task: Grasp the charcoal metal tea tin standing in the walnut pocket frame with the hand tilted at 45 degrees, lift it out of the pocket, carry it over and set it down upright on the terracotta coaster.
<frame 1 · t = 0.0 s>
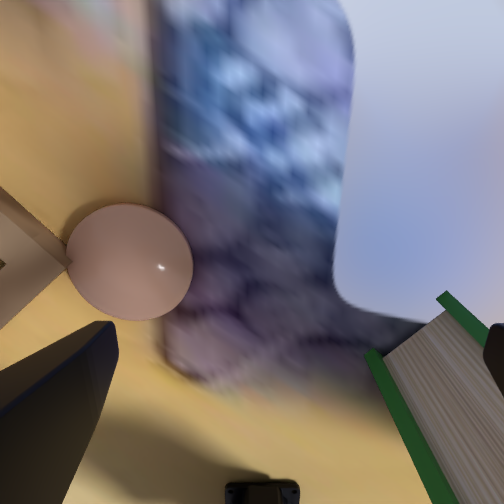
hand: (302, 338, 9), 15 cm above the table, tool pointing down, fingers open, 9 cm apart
hardback book: (472, 388, 28), on the table
coaster: (133, 262, 24), on the table
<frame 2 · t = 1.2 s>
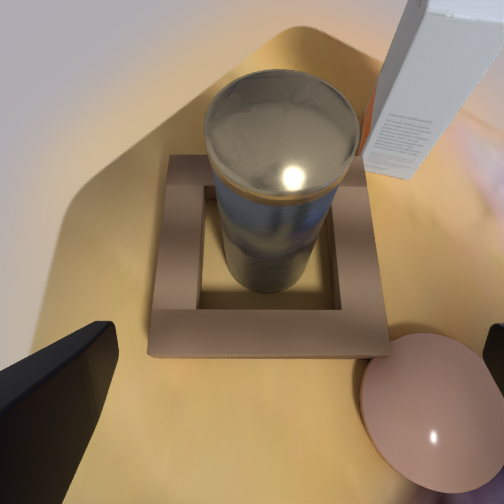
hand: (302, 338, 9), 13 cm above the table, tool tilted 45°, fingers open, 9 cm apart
pocket frame: (266, 254, 24), on the table
tea tin: (271, 209, 18), in the pocket frame
coaster: (430, 406, 20), on the table
skincare box: (384, 147, 28), on the table
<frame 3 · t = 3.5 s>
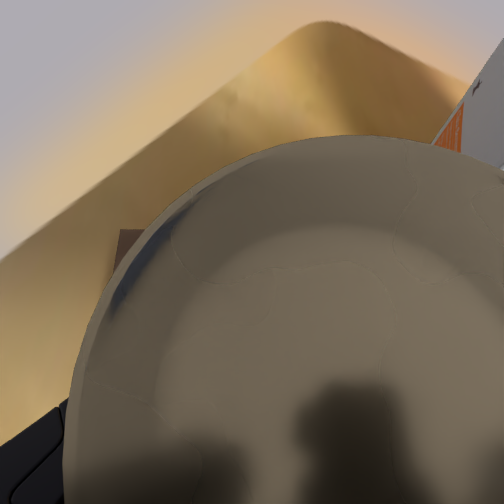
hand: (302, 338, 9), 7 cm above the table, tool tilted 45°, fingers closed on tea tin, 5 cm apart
pocket frame: (280, 404, 14), on the table
tea tin: (301, 401, 9), in the pocket frame, touching gripper
skincare box: (460, 206, 18), on the table
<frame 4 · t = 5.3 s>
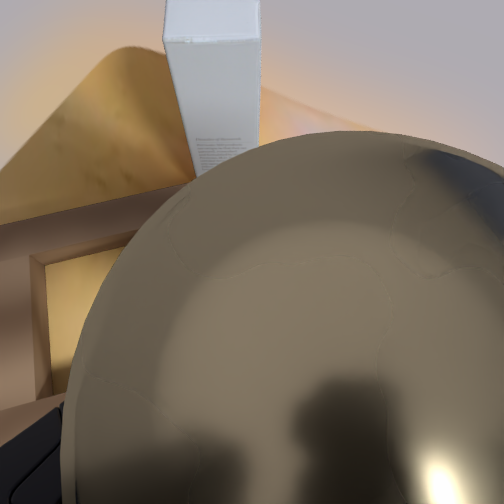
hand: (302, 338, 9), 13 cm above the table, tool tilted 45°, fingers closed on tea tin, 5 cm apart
pocket frame: (118, 310, 22), on the table
tea tin: (300, 398, 9), point 13 cm above the table, touching gripper
skincare box: (228, 161, 27), on the table
when the fingers open (8 cm above the table, at t = 7.0 s): tea tin stays where it is, resting on coaster.
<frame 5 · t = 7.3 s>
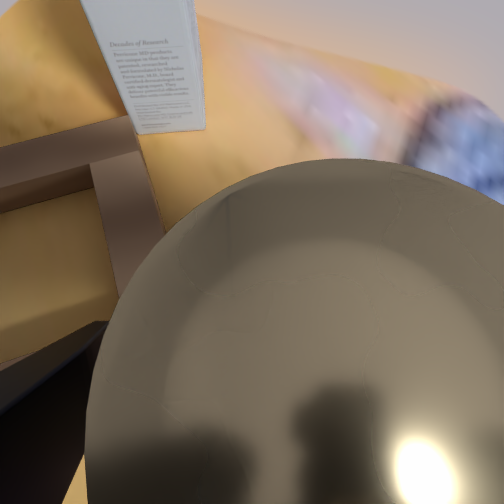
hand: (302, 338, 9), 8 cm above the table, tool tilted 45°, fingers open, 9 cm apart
pocket frame: (32, 277, 17), on the table
tea tin: (298, 401, 9), on the coaster, point 7 cm above the table
skincare box: (171, 99, 22), on the table
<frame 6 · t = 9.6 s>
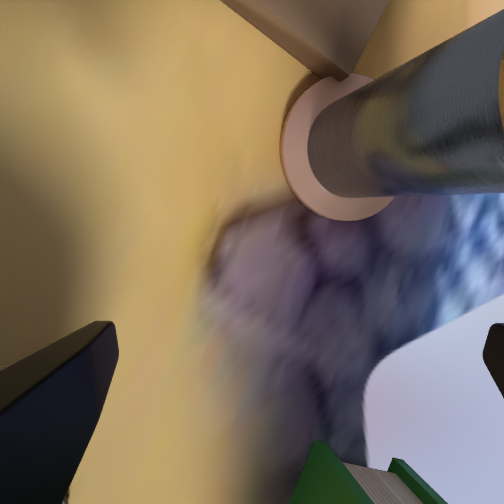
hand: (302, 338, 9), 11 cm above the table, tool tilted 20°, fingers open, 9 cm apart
tea tin: (434, 126, 14), on the coaster, point 7 cm above the table
coaster: (344, 151, 21), on the table
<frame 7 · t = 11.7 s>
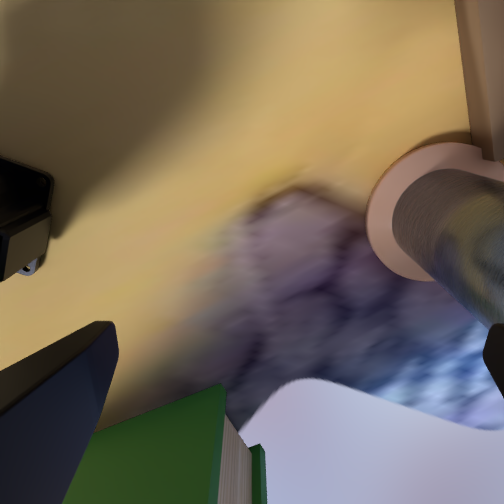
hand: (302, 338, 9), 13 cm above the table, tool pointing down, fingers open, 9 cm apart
hardback book: (143, 454, 28), on the table
coaster: (433, 213, 21), on the table
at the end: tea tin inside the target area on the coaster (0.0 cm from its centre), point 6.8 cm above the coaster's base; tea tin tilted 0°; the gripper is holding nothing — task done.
